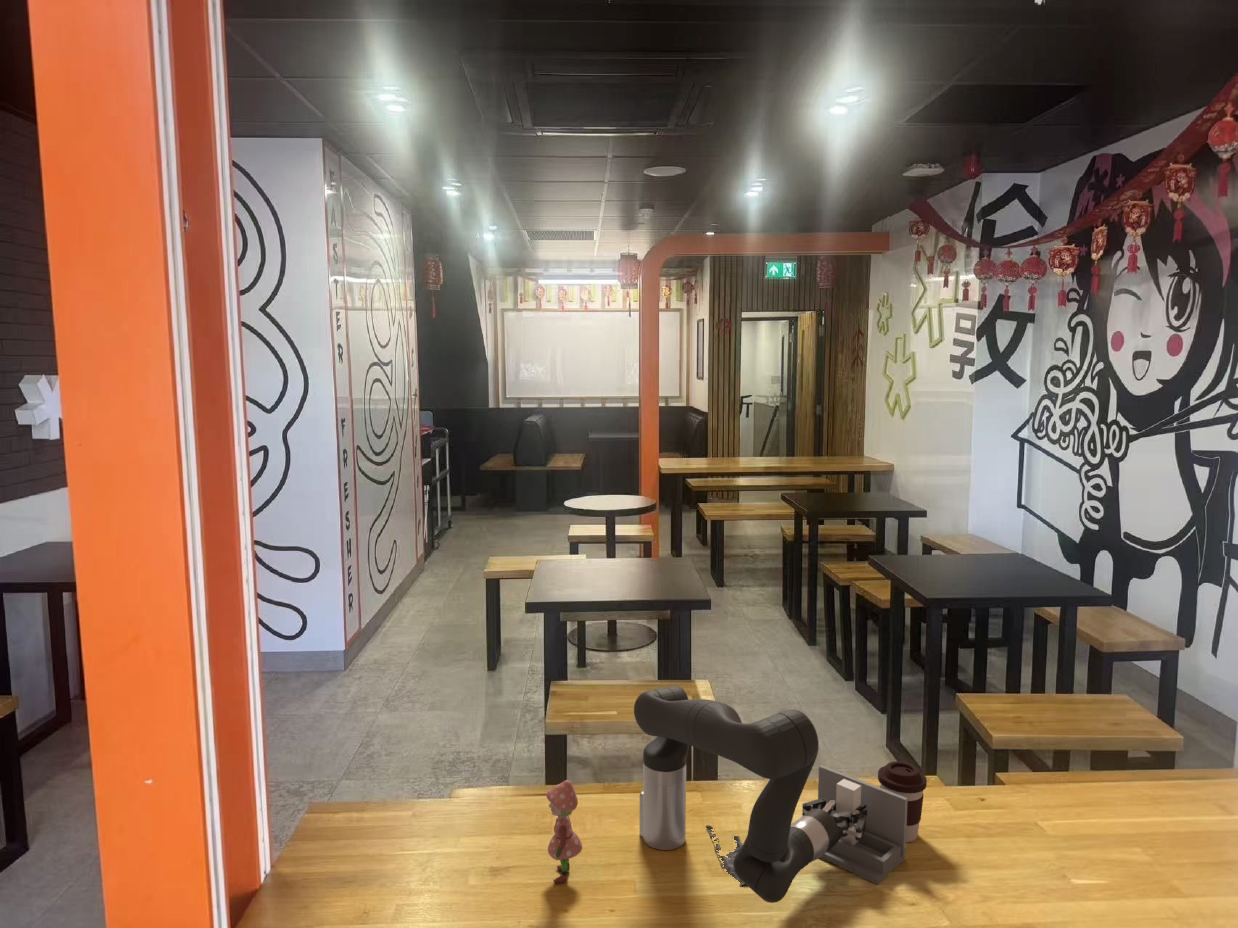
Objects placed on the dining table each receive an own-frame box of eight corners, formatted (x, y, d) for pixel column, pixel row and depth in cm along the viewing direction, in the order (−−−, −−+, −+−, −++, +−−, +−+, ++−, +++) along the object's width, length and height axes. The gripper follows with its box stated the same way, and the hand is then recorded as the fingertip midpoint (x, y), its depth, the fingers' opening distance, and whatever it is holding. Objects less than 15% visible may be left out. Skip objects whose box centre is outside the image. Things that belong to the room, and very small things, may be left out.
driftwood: (761, 888, 153) (761, 877, 153) (727, 890, 152) (727, 880, 152) (735, 830, 173) (735, 821, 173) (705, 832, 173) (705, 822, 172)
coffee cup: (874, 841, 168) (876, 774, 166) (877, 817, 177) (879, 754, 175) (923, 851, 164) (926, 783, 163) (924, 826, 173) (927, 762, 172)
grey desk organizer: (789, 842, 167) (791, 783, 166) (819, 821, 175) (821, 764, 174) (877, 884, 153) (879, 820, 152) (905, 858, 161) (907, 798, 160)
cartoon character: (579, 893, 150) (578, 794, 148) (542, 891, 151) (542, 792, 149) (585, 861, 160) (584, 768, 158) (550, 860, 161) (550, 767, 159)
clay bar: (834, 838, 164) (836, 783, 163) (842, 832, 166) (843, 778, 165) (852, 846, 161) (854, 790, 160) (859, 840, 163) (861, 785, 162)
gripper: (844, 832, 148) (887, 799, 160) (780, 804, 158) (825, 775, 170) (843, 870, 148) (885, 834, 160) (779, 839, 159) (824, 808, 171)
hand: (854, 804), depth 165 cm, fingers closed on clay bar, 4 cm apart
